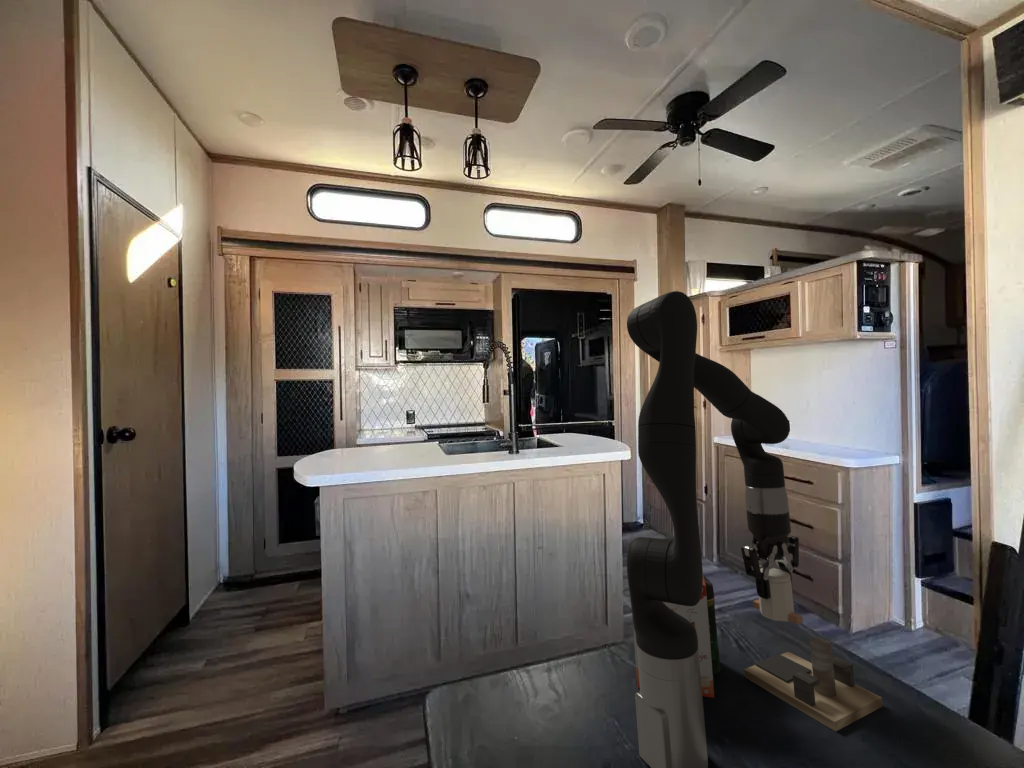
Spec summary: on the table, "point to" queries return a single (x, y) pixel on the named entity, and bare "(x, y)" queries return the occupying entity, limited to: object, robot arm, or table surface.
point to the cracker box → (701, 624)
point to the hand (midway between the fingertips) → (775, 593)
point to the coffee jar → (712, 627)
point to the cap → (778, 598)
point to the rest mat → (781, 667)
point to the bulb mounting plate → (821, 688)
